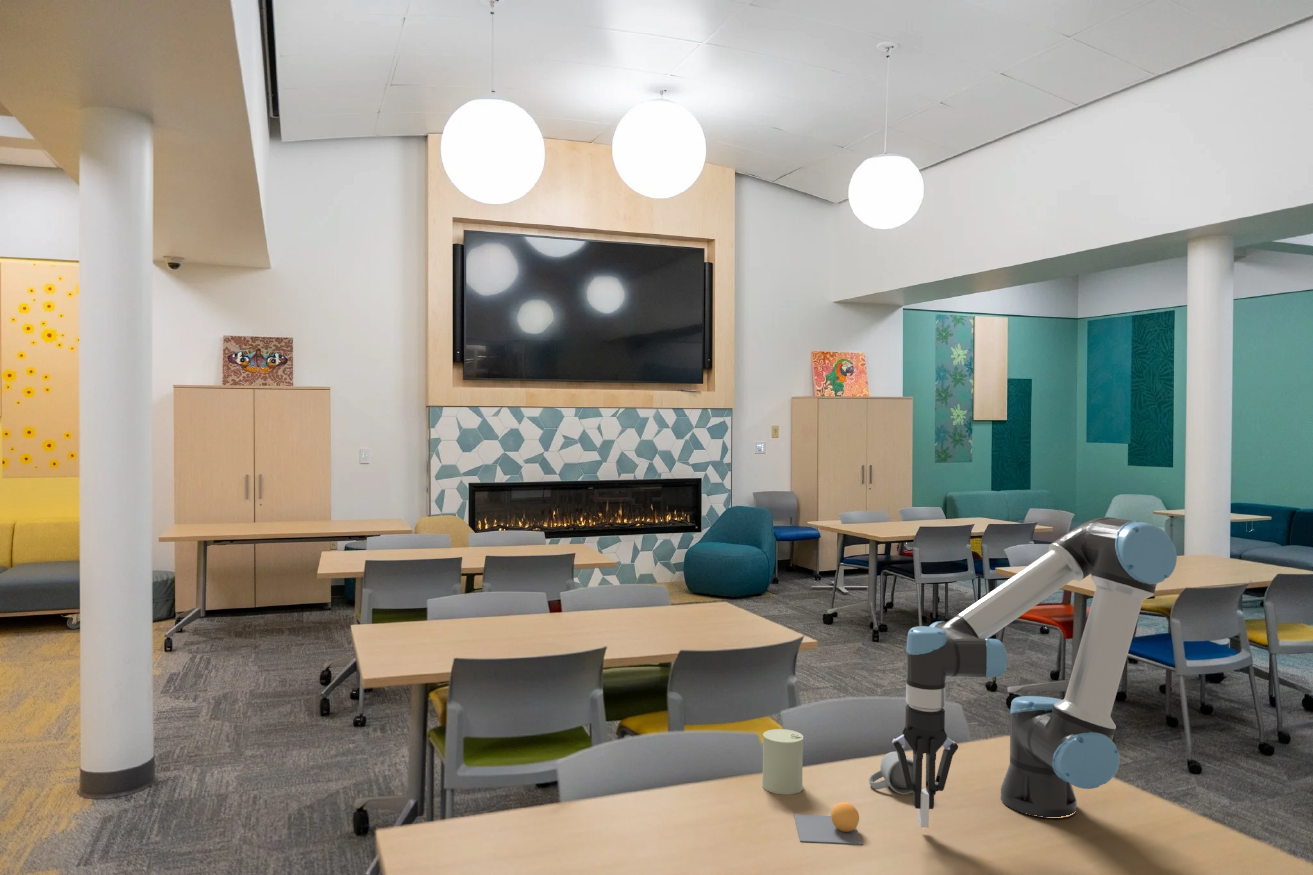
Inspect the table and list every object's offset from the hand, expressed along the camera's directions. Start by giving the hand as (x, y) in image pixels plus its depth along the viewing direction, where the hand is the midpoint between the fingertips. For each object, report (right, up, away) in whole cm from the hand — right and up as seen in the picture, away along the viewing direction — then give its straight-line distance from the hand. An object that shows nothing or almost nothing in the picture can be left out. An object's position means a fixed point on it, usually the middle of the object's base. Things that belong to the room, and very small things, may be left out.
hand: (923, 824), depth 171 cm
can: (-25, -2, +22) cm, 33 cm away
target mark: (-19, -2, +1) cm, 19 cm away
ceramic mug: (+1, -3, +23) cm, 23 cm away
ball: (-15, +1, +1) cm, 16 cm away
